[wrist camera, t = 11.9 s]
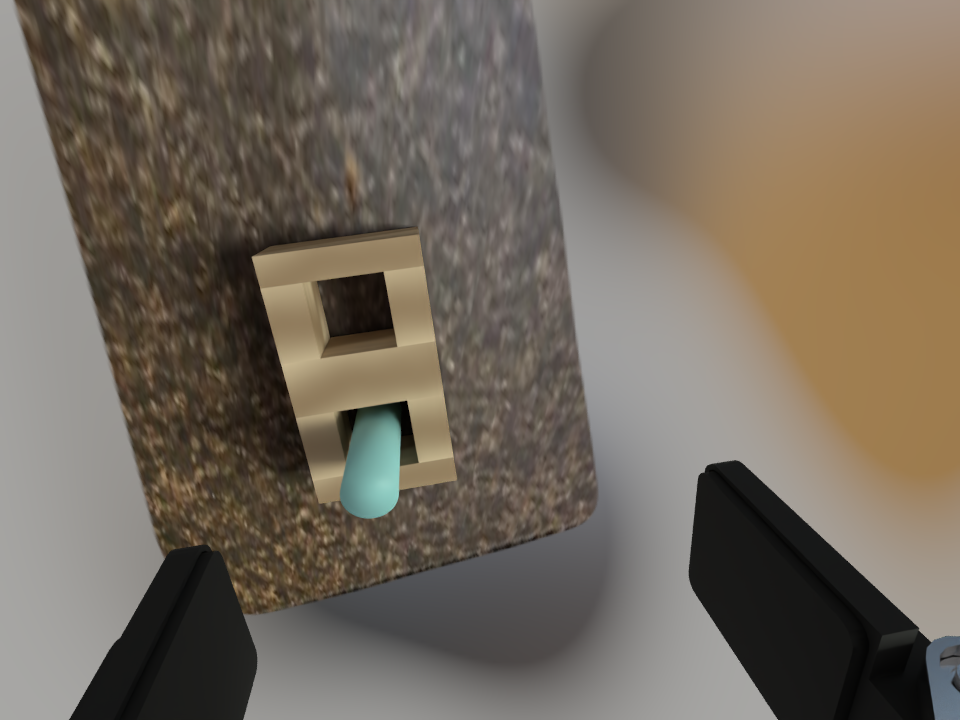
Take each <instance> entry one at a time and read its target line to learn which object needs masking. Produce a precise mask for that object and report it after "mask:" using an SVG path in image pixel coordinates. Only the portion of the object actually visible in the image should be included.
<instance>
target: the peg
mask: <svg viewBox="0 0 960 720" xmlns="http://www.w3.org/2000/svg"><path fill="white" fill-rule="evenodd" d="M401 412H402V409H401V404H400V402H394V403H388V404H381V405H375V406H369V407H363V408H358V410H357V414H356V419H355V424H354V428H353V433H352V437H351V442H350V447H349V451H348V456H347V460H346V465H345V470H344V474H343V479H342V483H341V488H340V500H341V503H342V504H343V506H344V507H345V509H346V510H347V511H349V512H350V513H351V514H353V515H355V516H358V517H361V518H377V517H380V516H383V515H385V514H386V513H388V512H389V511H391V510H392V509H393V507H394V506H395V505H396V503H397V500H398V496H399V471H400V441H401Z"/></svg>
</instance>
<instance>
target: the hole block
mask: <svg viewBox="0 0 960 720" xmlns="http://www.w3.org/2000/svg"><path fill="white" fill-rule="evenodd" d="M252 260H253V263H254V267H255V271H256V274H257V278H258V282H259V285H260V289H261V293H262V296H263V300H264V304H265V307H266V311H267V315H268V318H269V322H270V326H271V329H272V333H273V337H274V340H275V344H276V347H277V351H278V355H279V358H280V362H281V366H282V369H283V373H284V377H285V380H286V384H287V388H288V391H289V395H290V399H291V402H292V406H293V410H294V413H295V417H296V421H297V424H298V428H299V432H300V435H301V439H302V442H303V446H304V450H305V453H306V457H307V461H308V464H309V468H310V472H311V475H312V479H313V483H314V486H315V490H316V494H317V497H318V501H319V504H321V503H326V502H332V501H338V500H340V488H341V483H342V479H343V474H344V470H345V465H346V460H347V456H348V451H349V447H350V442H351V437H352V430H351V425H350V421H349V417H348V413H347V410H350V409H356V408H363V407H369V406H375V405H381V404H388V403H394V402H400V401H408V407H409V412H410V418H411V423H412V428H413V434H411V435H405V436H401V441H400V471H399V490H402V489H408V488H414V487H419V486H425V485H431V484H437V483H443V482H448V481H454V480H457V477H456V471H455V464H454V458H453V451H452V445H451V438H450V432H449V425H448V419H447V412H446V406H445V399H444V393H443V387H442V380H441V374H440V367H439V361H438V354H437V348H436V341H435V335H434V328H433V322H432V315H431V309H430V303H429V296H428V290H427V283H426V277H425V270H424V264H423V257H422V251H421V244H420V238H419V232H418V227H411V228H404V229H396V230H389V231H381V232H373V233H366V234H358V235H351V236H343V237H336V238H328V239H321V240H313V241H306V242H298V243H291V244H283V245H276V246H270V247H268V248H266V249H265V250H263V251H261V252H259V253H258V254H256V255H254V256H252ZM377 272H384V276H385V281H386V287H387V292H388V298H389V303H390V309H391V314H392V320H393V325H394V328H392V329H385V330H378V331H372V332H365V333H358V334H351V335H345V336H338V337H331V338H330V335H329V331H328V326H327V322H326V318H325V313H324V309H323V305H322V300H321V296H320V292H319V288H318V283H317V281H319V280H327V279H334V278H341V277H348V276H355V275H363V274H370V273H377Z"/></svg>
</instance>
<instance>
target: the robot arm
mask: <svg viewBox="0 0 960 720" xmlns="http://www.w3.org/2000/svg"><path fill="white" fill-rule="evenodd" d="M689 580H690V583H691V586H692V589H693V591H694V592H695V594H696V596H697V597H698V599H699V600H700V601H701V603H702V605H703V606H704V608H705V609H706V611H707V612H708V614H709V615H710V617H711V618H712V620H713V621H714V623H715V624H716V626H717V627H718V629H719V631H720V632H721V634H722V635H723V636H724V638H725V640H726V641H727V643H728V644H729V646H730V647H731V649H732V650H733V652H734V653H735V655H736V656H737V658H738V660H739V661H740V662H741V664H742V666H743V667H744V669H745V670H746V672H747V673H748V675H749V676H750V678H751V679H752V681H753V682H754V684H755V685H756V687H757V688H758V690H759V692H760V693H761V694H762V696H763V698H764V699H765V701H766V702H767V704H768V705H769V706H770V708H771V710H772V711H773V713H774V714H775V716H776V717H777V719H778V720H960V636H945V637H942V638H939V639H936V640H934V641H933V642H932V643H931V642H930V641H929V640H928V639H927V638H926V637H925V636H924V635H923V634H922V633H921V632H920V631H919V628H918V627H917V626H916V625H915V624H914V623H913V622H912V621H911V620H910V619H909V618H908V617H907V616H906V615H905V614H903V613H902V612H901V611H900V610H899V609H898V608H897V607H896V606H895V605H894V604H893V603H891V602H890V600H888V599H887V598H886V597H885V596H884V595H883V594H882V593H881V592H880V591H879V590H878V589H877V588H875V586H873V585H872V584H871V583H870V582H869V581H868V580H867V579H866V578H865V577H864V576H863V575H862V574H861V573H859V572H858V571H857V570H856V569H855V568H854V567H853V566H852V565H851V564H850V563H849V562H848V561H846V560H845V559H844V558H843V557H842V556H841V555H840V554H839V553H838V552H837V551H836V550H835V549H834V548H833V547H832V546H831V545H829V544H828V543H827V542H826V541H825V540H824V539H823V538H822V537H821V536H820V535H819V534H818V533H817V532H816V531H814V530H813V529H812V528H811V527H810V526H809V525H808V524H807V523H806V522H805V521H804V520H803V519H802V518H800V517H799V516H798V515H797V514H796V513H795V512H794V511H793V510H792V509H791V508H790V507H789V506H788V505H787V504H786V503H784V502H783V501H782V500H781V499H780V498H779V497H778V496H777V495H776V494H775V493H774V492H773V491H772V490H770V489H769V488H768V487H767V486H766V485H765V484H764V483H763V482H762V481H761V480H760V479H759V478H758V477H757V476H755V475H754V474H753V473H752V472H751V471H750V470H749V469H748V468H747V467H746V466H745V465H744V464H742V463H741V462H739V461H736V460H734V461H727V462H721V463H715V464H710V465H708V466H707V467H706V468H705V473H701V474H700V475H699V477H698V484H697V494H696V504H695V515H694V524H693V534H692V545H691V554H690V564H689ZM256 670H257V652H256V649H255V646H254V643H253V641H252V637H251V635H250V632H249V629H248V626H247V624H246V621H245V618H244V615H243V613H242V610H241V607H240V604H239V602H238V599H237V596H236V593H235V590H234V588H233V585H232V582H231V579H230V577H229V574H228V571H227V568H226V566H225V563H224V560H223V557H222V555H221V553H220V552H219V551H213V552H212V550H211V549H210V547H209V546H208V545H199V546H193V547H186V548H180V549H174V550H172V551H170V552H169V554H168V555H167V556H166V558H165V560H164V562H163V563H162V565H161V567H160V569H159V571H158V573H157V574H156V576H155V578H154V579H153V581H152V583H151V585H150V586H149V588H148V590H147V592H146V593H145V595H144V597H143V599H142V601H141V602H140V604H139V606H138V608H137V609H136V611H135V613H134V615H133V616H132V618H131V620H130V622H129V623H128V625H127V627H126V629H125V630H124V632H123V634H122V636H121V638H120V639H118V640H117V641H116V642H115V643H114V645H113V646H112V647H111V649H110V650H109V652H108V654H107V655H106V657H105V659H104V660H103V662H102V664H101V666H100V667H99V669H98V671H97V673H96V674H95V676H94V678H93V679H92V681H91V683H90V685H89V686H88V688H87V690H86V692H85V693H84V695H83V697H82V699H81V700H80V702H79V704H78V706H77V707H76V709H75V711H74V712H73V714H72V716H71V718H70V719H69V720H243V718H244V715H245V711H246V707H247V704H248V700H249V697H250V693H251V689H252V686H253V682H254V678H255V675H256Z"/></svg>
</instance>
